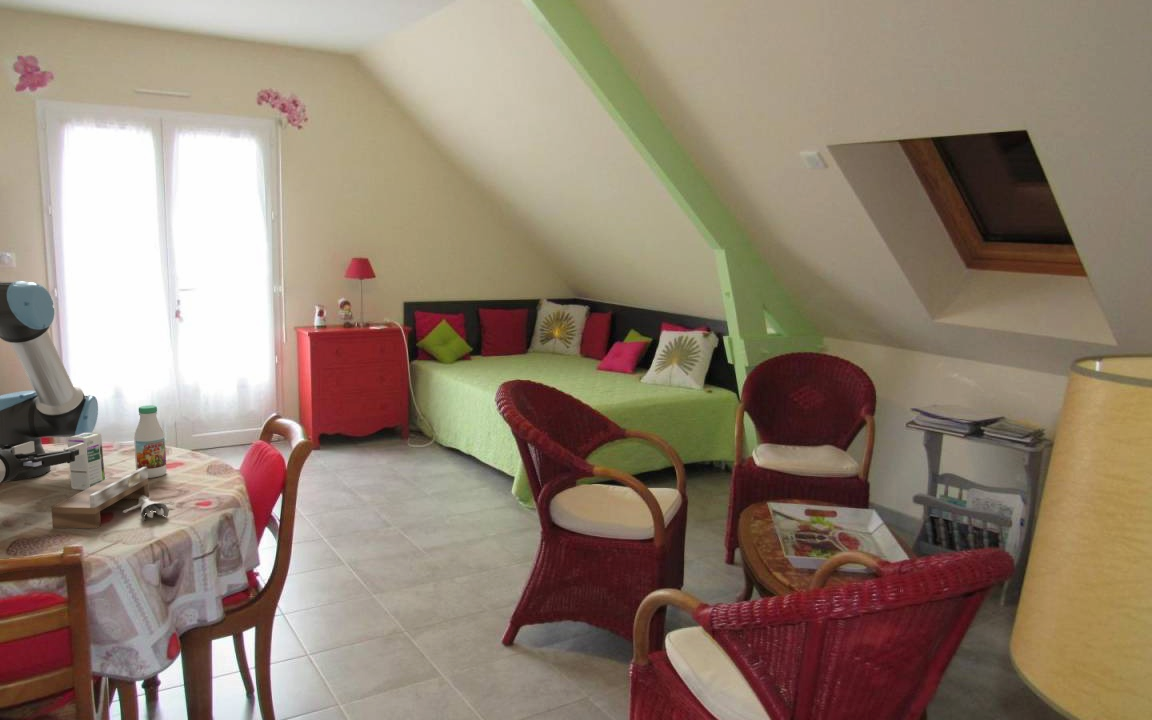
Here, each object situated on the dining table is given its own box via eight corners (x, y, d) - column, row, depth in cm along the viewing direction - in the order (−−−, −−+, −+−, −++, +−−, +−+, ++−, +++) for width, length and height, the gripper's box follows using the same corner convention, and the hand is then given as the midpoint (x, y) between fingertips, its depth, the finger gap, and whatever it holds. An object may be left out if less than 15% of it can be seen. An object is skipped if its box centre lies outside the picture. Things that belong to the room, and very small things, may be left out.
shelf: (110, 495, 211) (108, 466, 210) (150, 496, 211) (148, 466, 210) (52, 527, 187) (50, 494, 186) (97, 528, 187) (95, 495, 186)
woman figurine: (129, 510, 188) (116, 495, 202) (130, 528, 188) (117, 512, 202) (183, 501, 195) (167, 487, 209) (184, 519, 195) (168, 504, 209)
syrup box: (89, 490, 214) (85, 438, 212) (70, 489, 216) (66, 436, 213) (105, 484, 220) (102, 433, 218) (87, 483, 221) (83, 431, 219)
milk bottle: (130, 476, 228) (125, 407, 225) (153, 469, 235) (149, 402, 232) (149, 480, 225) (145, 410, 222) (172, 473, 232) (169, 405, 229)
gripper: (-58, 482, 186) (13, 459, 207) (44, 487, 184) (105, 463, 205) (-61, 451, 185) (11, 431, 206) (42, 455, 183) (103, 434, 204)
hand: (58, 447), depth 206 cm, fingers open, 13 cm apart
